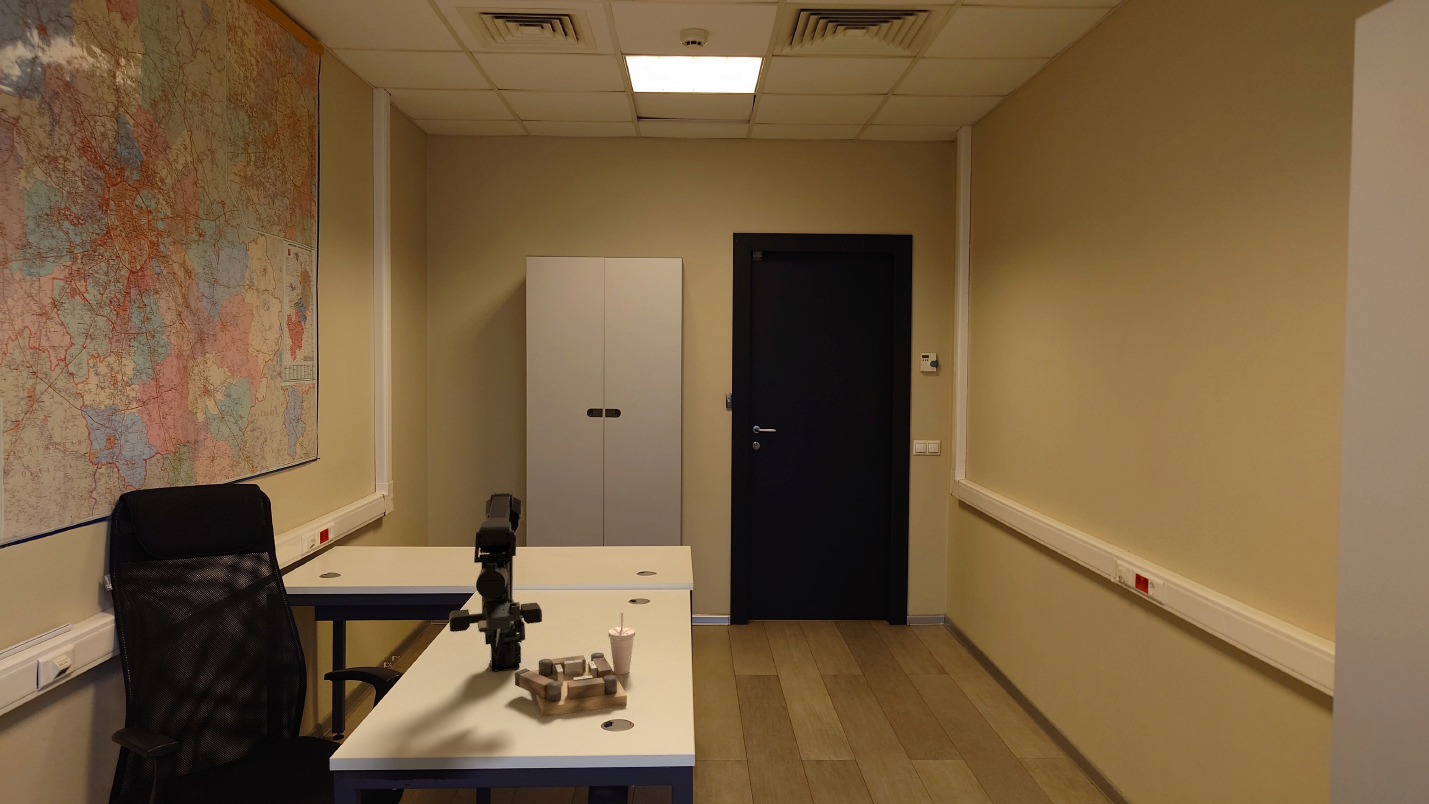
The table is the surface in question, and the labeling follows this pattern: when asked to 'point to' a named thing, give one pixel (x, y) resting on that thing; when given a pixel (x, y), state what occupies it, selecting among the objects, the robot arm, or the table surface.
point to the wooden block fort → (581, 687)
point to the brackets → (575, 670)
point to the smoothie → (621, 647)
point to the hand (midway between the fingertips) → (496, 656)
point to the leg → (538, 684)
